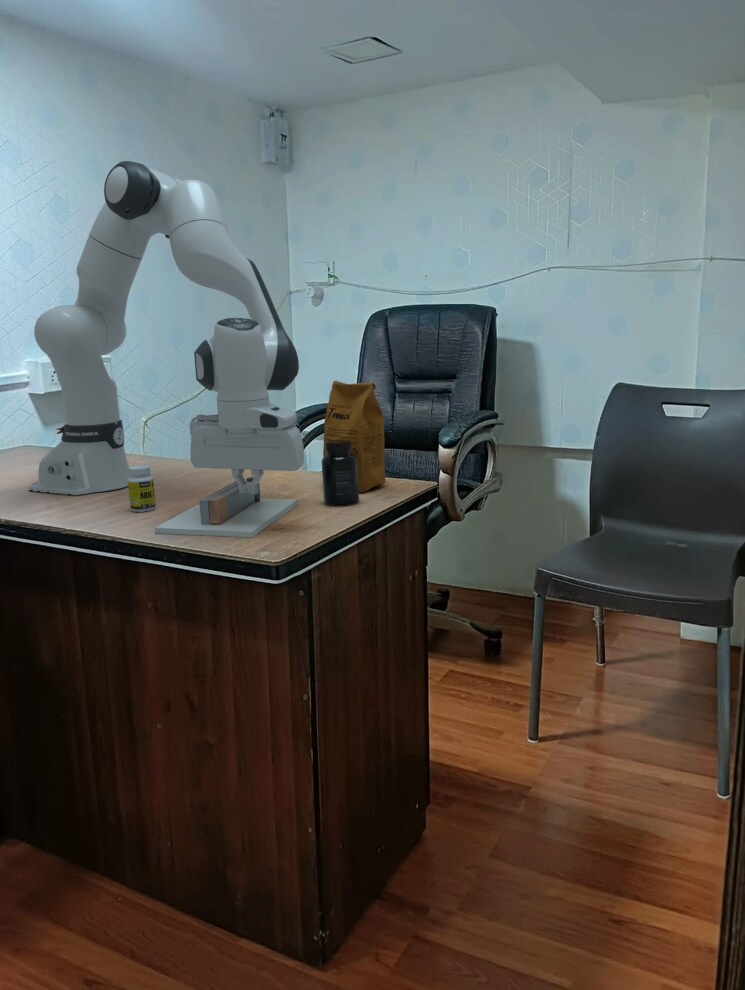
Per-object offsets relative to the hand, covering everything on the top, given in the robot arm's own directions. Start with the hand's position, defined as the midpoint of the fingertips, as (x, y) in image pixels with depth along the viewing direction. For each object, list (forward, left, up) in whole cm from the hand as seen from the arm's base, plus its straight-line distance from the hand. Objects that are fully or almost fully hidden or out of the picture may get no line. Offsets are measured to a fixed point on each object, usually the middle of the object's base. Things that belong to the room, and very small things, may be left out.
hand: (249, 493), depth 141 cm
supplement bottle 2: (+12, +17, -6) cm, 21 cm away
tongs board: (-5, +3, -6) cm, 8 cm away
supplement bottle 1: (-25, +7, -6) cm, 27 cm away
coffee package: (+11, +30, -6) cm, 33 cm away
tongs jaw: (-5, +3, -4) cm, 7 cm away
